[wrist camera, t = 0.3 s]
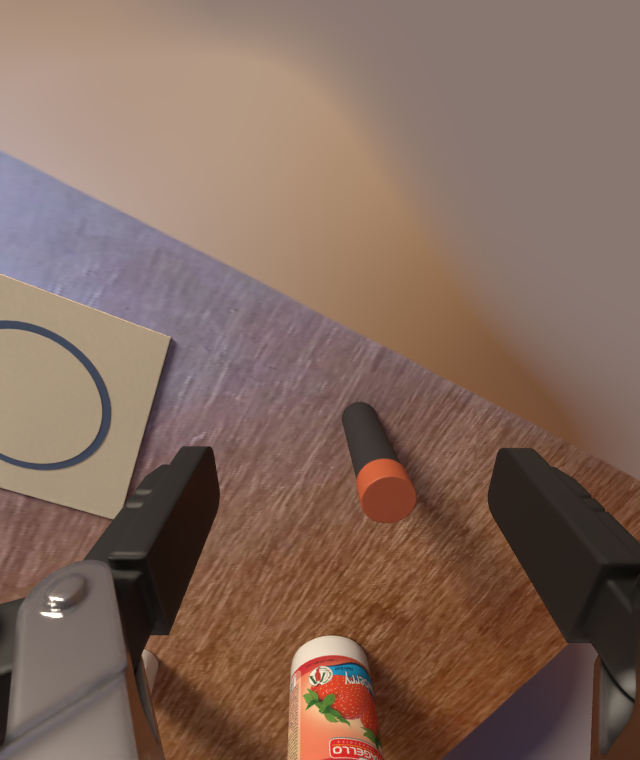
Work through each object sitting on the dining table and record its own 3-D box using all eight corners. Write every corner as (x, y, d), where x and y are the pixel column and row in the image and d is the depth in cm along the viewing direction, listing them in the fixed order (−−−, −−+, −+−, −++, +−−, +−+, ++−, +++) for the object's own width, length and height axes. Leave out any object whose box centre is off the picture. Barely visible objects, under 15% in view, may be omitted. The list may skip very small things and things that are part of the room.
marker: (349, 395, 31) (375, 468, 20) (382, 408, 31) (427, 486, 20) (335, 427, 32) (352, 514, 20) (367, 438, 32) (401, 530, 21)
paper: (-91, 239, 26) (-95, 239, 25) (171, 337, 29) (170, 337, 28) (-102, 457, 31) (-106, 458, 31) (119, 519, 34) (118, 521, 34)
